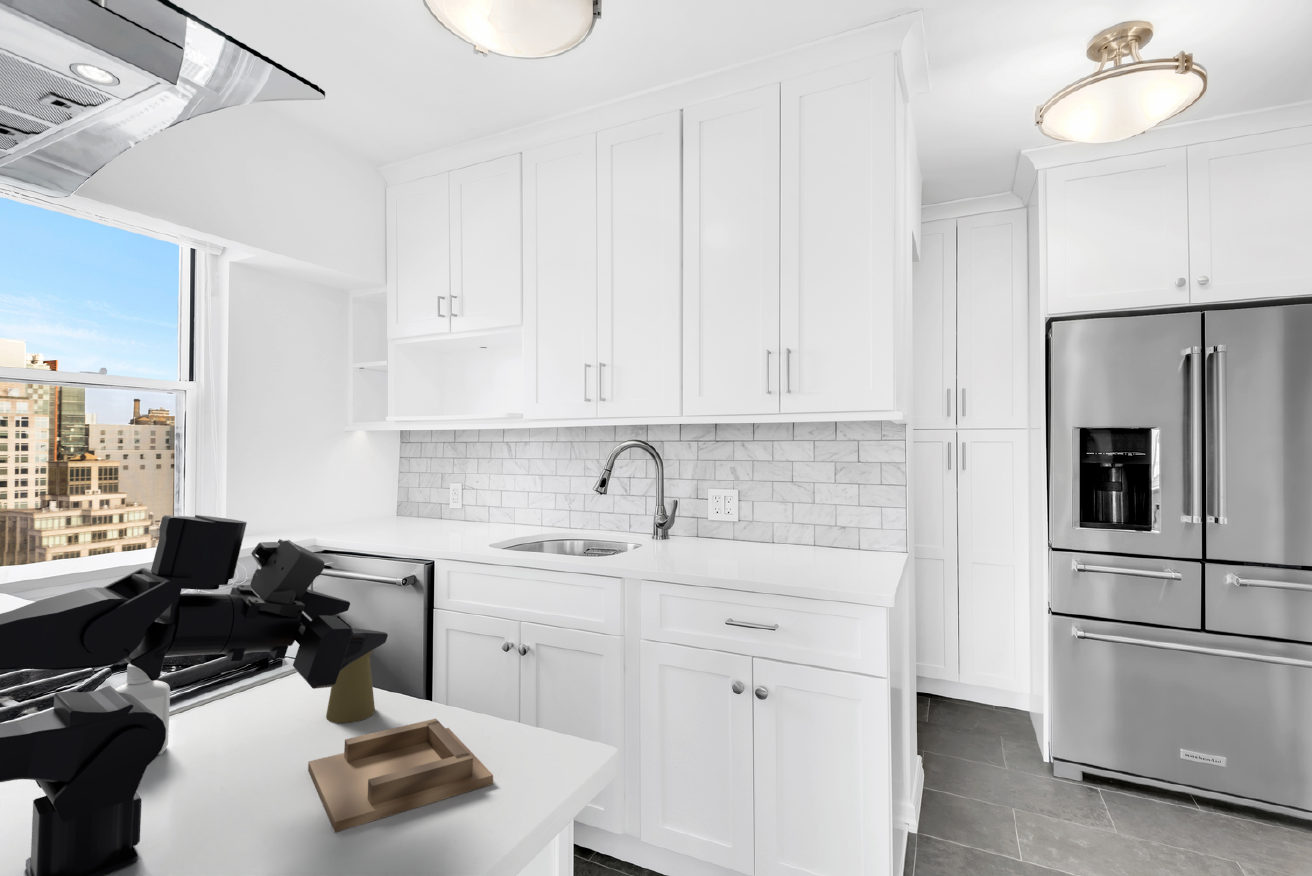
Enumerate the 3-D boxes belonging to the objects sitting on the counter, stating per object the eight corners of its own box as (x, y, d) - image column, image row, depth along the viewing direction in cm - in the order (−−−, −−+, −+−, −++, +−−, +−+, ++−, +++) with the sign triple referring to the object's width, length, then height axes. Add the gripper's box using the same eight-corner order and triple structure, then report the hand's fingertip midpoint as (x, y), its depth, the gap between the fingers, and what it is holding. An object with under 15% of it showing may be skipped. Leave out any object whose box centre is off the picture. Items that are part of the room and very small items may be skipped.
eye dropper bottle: (145, 765, 73) (149, 658, 73) (96, 763, 73) (101, 656, 73) (175, 747, 77) (179, 646, 77) (129, 744, 78) (133, 644, 78)
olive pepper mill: (356, 725, 85) (359, 641, 85) (315, 720, 86) (319, 636, 86) (384, 707, 91) (387, 628, 91) (346, 702, 92) (349, 624, 92)
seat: (334, 832, 62) (336, 801, 62) (308, 770, 73) (309, 743, 73) (492, 784, 72) (493, 756, 72) (448, 735, 83) (448, 712, 83)
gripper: (284, 580, 59) (431, 585, 71) (215, 517, 70) (352, 530, 83) (244, 698, 59) (398, 683, 71) (181, 615, 70) (323, 614, 82)
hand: (366, 621), depth 77 cm, fingers open, 9 cm apart
